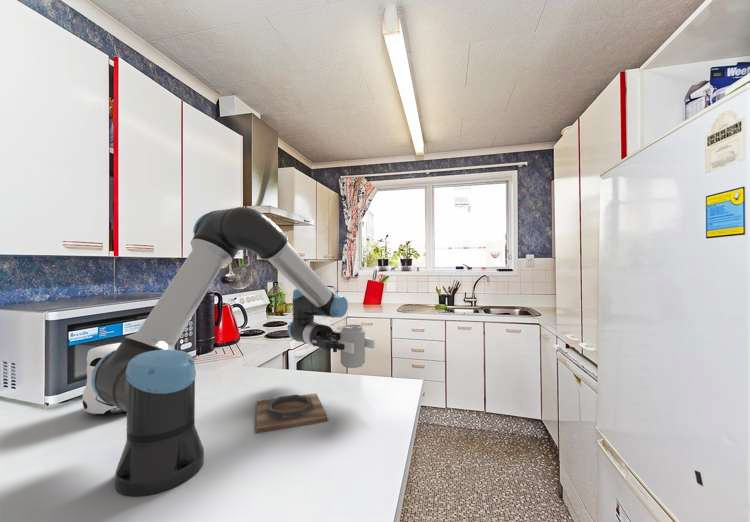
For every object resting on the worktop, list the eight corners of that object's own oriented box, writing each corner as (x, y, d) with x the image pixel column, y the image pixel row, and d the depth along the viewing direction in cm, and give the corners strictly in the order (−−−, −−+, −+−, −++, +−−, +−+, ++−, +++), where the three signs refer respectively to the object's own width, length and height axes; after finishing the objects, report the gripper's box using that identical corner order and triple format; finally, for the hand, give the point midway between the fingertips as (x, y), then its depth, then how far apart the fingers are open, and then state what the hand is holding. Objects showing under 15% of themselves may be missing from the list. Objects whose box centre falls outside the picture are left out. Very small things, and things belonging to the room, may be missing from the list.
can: (370, 364, 101) (370, 325, 101) (352, 370, 95) (351, 328, 95) (353, 360, 106) (353, 322, 106) (335, 365, 100) (335, 325, 101)
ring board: (327, 420, 89) (327, 411, 89) (256, 432, 83) (256, 422, 83) (316, 396, 106) (316, 388, 106) (256, 404, 100) (256, 396, 100)
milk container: (109, 425, 87) (110, 356, 88) (67, 416, 93) (67, 351, 93) (169, 400, 104) (169, 342, 104) (130, 393, 109) (130, 339, 110)
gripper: (342, 341, 121) (387, 352, 104) (292, 351, 106) (336, 366, 90) (341, 320, 121) (387, 328, 104) (292, 328, 106) (335, 338, 90)
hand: (363, 346), depth 97 cm, fingers closed on can, 7 cm apart
